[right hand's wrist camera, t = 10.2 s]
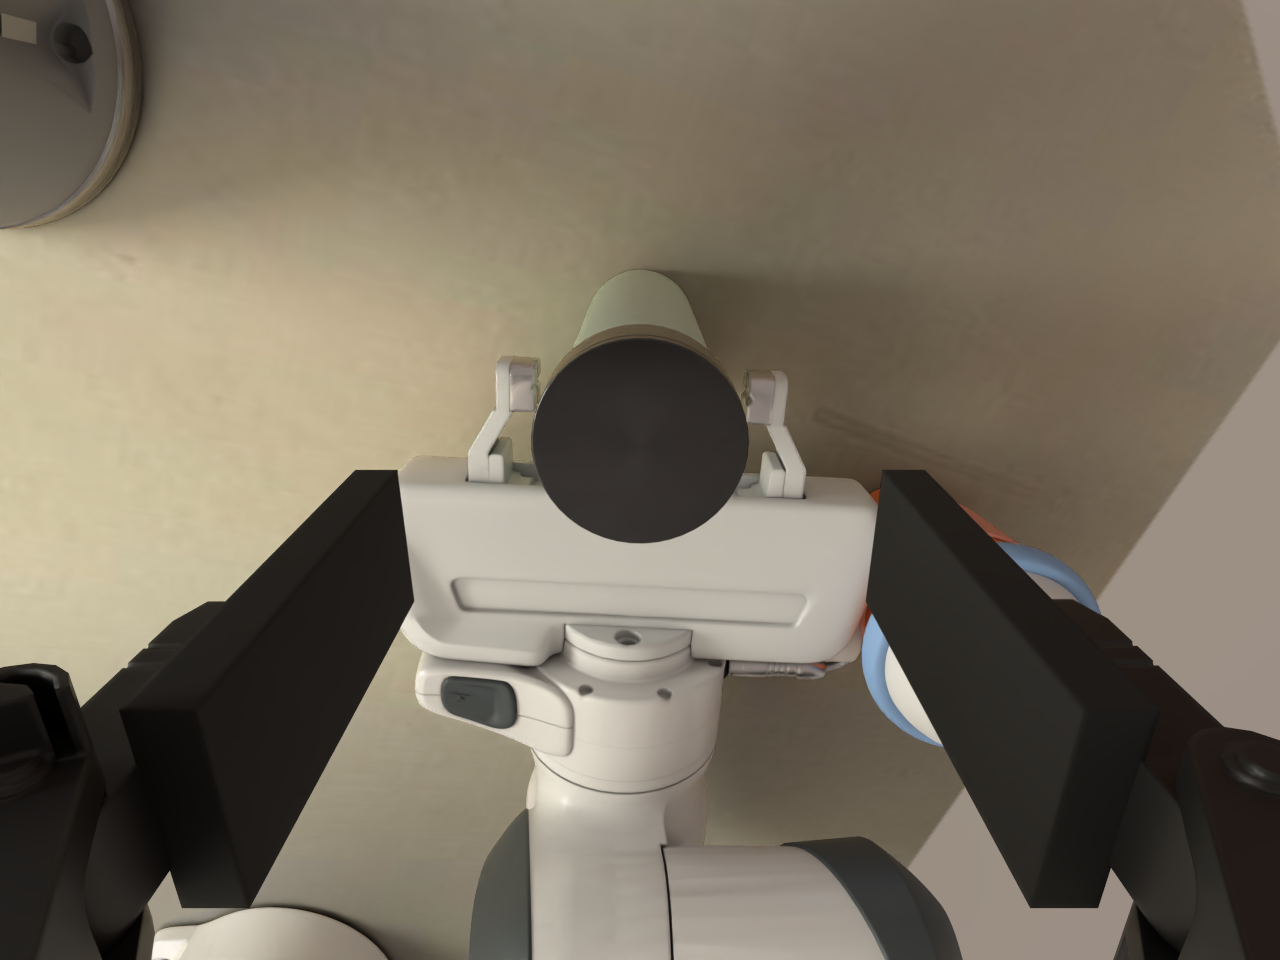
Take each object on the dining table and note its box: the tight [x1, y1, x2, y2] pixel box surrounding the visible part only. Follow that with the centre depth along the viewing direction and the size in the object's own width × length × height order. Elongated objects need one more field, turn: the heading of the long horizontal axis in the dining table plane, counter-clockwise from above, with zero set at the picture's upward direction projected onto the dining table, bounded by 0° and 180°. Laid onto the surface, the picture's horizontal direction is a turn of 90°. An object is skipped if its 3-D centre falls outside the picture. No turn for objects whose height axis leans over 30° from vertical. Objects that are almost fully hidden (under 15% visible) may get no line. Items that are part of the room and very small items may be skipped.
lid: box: [531, 324, 749, 544], centre depth 19 cm, size 5×5×2 cm
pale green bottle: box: [573, 270, 707, 349], centre depth 27 cm, size 5×5×17 cm
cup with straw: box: [860, 489, 1101, 747], centre depth 30 cm, size 9×9×18 cm
